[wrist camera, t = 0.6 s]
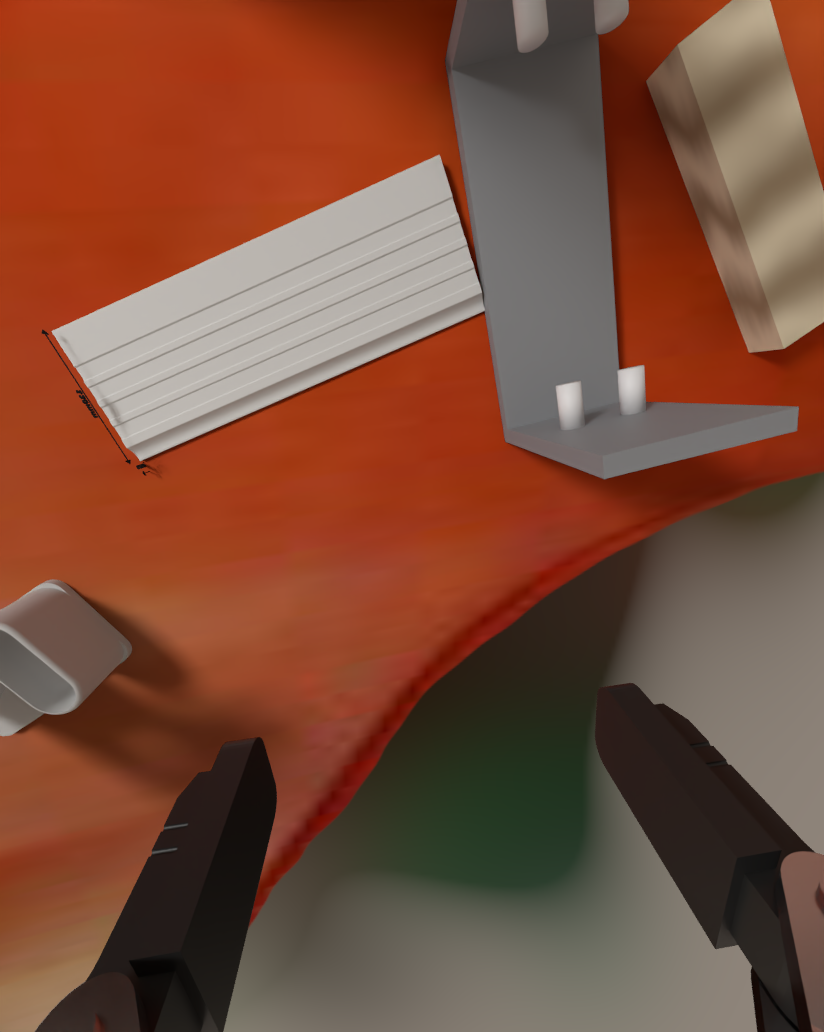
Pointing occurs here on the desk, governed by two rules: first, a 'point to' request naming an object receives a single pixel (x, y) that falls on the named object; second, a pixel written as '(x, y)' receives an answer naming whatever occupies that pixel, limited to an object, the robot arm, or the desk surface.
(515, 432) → the shelf frame
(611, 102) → the desk surface
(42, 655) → the phone holder
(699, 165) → the shelf board
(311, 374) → the baseboard
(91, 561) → the desk surface
